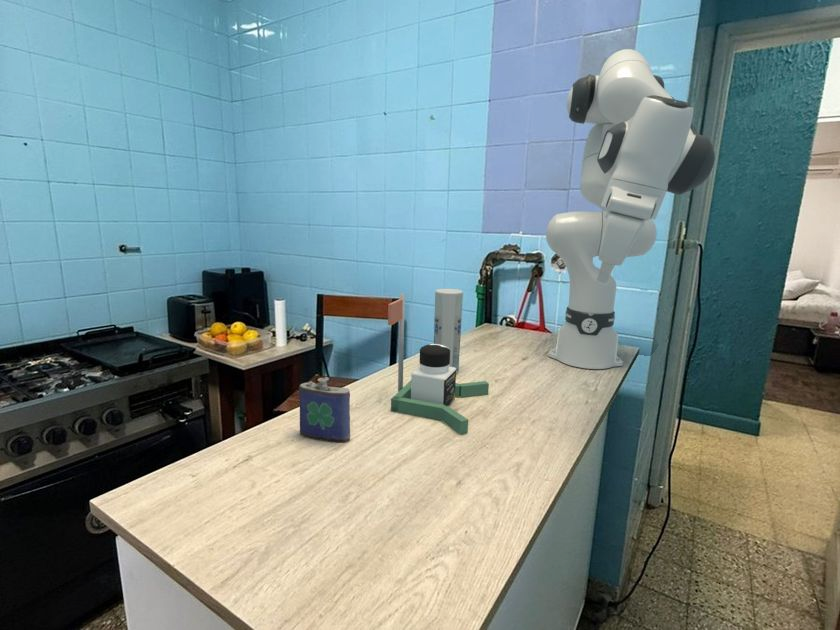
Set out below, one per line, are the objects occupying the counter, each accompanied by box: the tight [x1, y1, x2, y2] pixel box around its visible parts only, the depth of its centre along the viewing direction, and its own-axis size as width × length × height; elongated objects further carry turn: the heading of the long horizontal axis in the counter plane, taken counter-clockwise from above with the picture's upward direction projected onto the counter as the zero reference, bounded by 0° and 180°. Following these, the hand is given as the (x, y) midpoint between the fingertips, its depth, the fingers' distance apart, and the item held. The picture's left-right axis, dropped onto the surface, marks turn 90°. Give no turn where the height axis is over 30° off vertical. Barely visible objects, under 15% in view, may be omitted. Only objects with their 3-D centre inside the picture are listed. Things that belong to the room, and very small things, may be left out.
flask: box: [298, 376, 351, 443], centre depth 74 cm, size 9×3×11 cm, turn 74°
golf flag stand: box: [387, 292, 490, 435], centre depth 87 cm, size 21×17×22 cm
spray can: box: [433, 288, 464, 375], centre depth 106 cm, size 6×6×20 cm
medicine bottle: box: [410, 343, 457, 407], centre depth 89 cm, size 7×7×12 cm
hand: (601, 280), depth 78 cm, fingers closed
